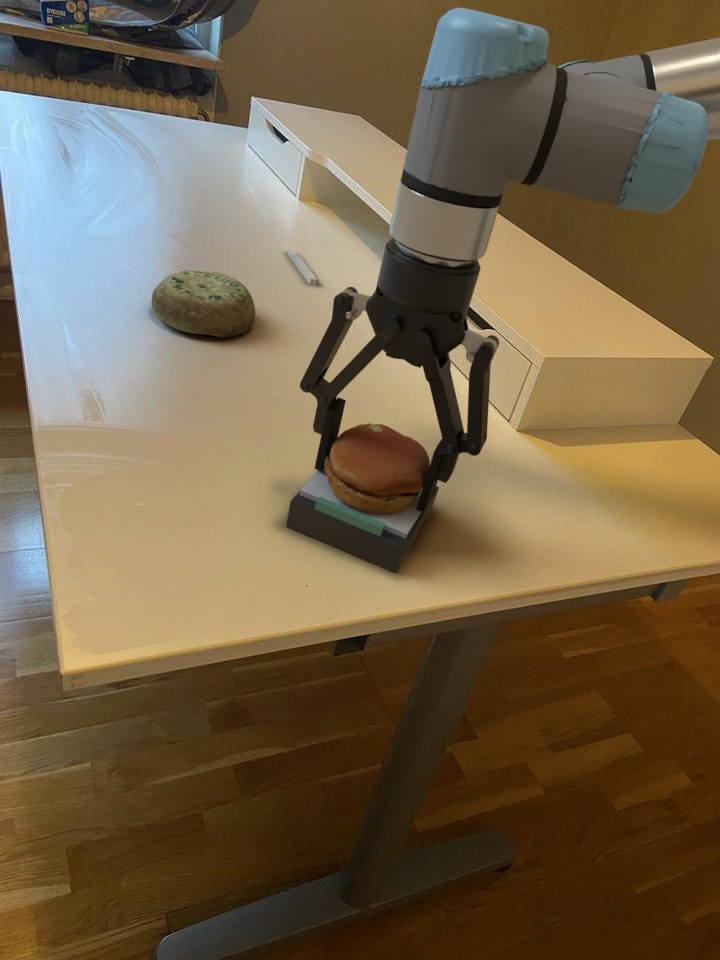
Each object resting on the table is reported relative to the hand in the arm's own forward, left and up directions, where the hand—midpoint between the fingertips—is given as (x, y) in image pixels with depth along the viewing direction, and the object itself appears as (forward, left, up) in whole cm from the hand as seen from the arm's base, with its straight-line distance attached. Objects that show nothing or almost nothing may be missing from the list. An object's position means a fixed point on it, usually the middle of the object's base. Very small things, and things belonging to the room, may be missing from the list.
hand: (373, 483), depth 69 cm
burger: (0, 0, 0) cm, 0 cm away
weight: (+34, -26, -4) cm, 43 cm away
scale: (0, +1, -4) cm, 4 cm away
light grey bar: (+33, -55, -4) cm, 65 cm away
